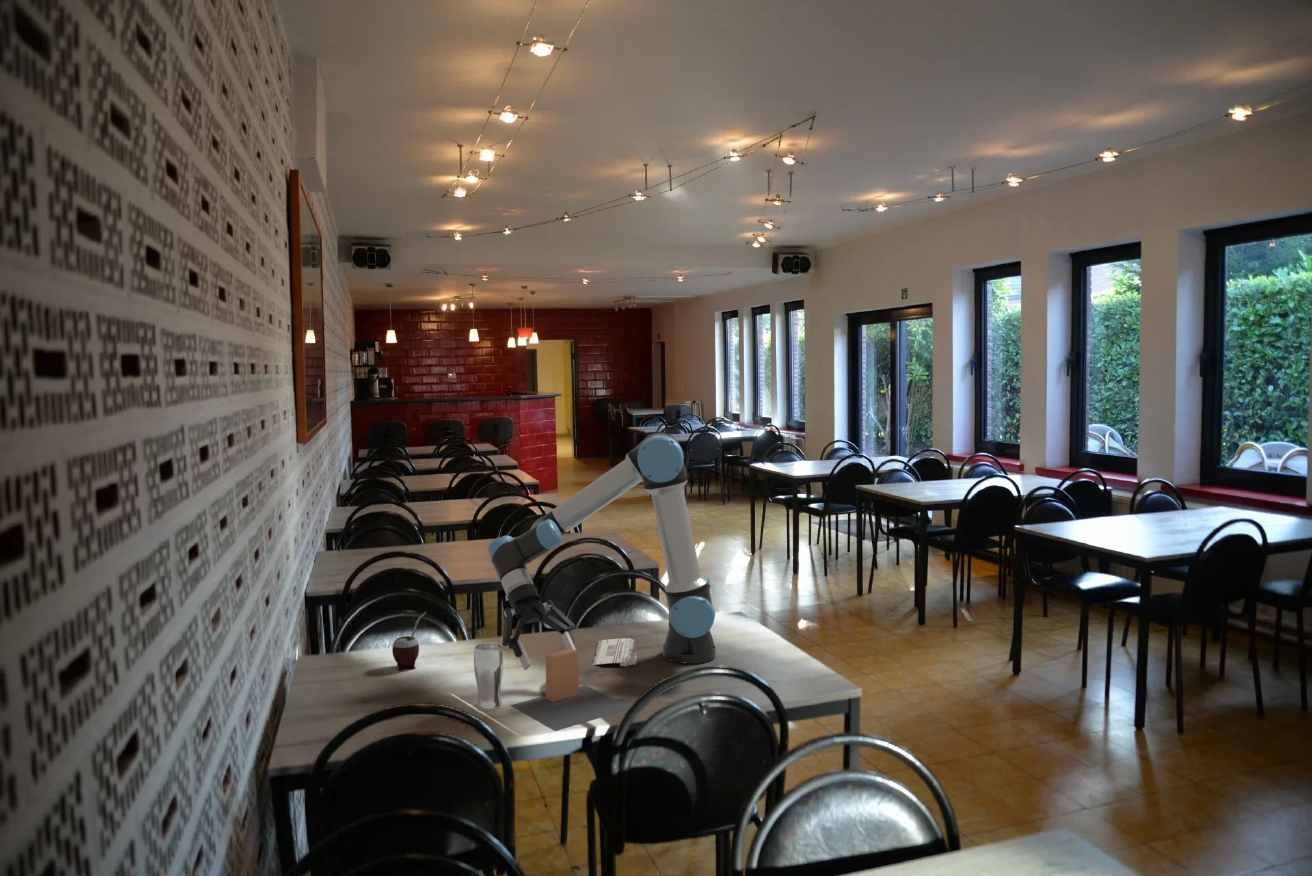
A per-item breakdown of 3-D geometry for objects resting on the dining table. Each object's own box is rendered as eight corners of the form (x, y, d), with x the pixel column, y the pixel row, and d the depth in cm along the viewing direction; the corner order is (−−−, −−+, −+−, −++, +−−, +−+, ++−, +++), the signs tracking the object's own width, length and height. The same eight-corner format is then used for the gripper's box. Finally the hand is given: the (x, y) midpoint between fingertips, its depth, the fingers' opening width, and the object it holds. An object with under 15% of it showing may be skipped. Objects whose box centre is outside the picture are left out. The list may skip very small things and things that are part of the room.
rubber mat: (585, 686, 233) (585, 685, 233) (633, 709, 218) (633, 707, 218) (510, 706, 219) (510, 705, 219) (555, 732, 204) (555, 731, 204)
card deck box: (571, 691, 229) (571, 648, 228) (578, 694, 226) (578, 651, 225) (546, 698, 224) (545, 654, 223) (552, 701, 222) (552, 657, 221)
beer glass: (505, 701, 223) (504, 641, 222) (501, 712, 216) (501, 650, 215) (477, 702, 222) (476, 642, 221) (472, 712, 216) (471, 650, 214)
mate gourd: (387, 669, 246) (385, 615, 245) (407, 661, 253) (406, 608, 252) (408, 673, 243) (406, 618, 242) (428, 665, 250) (427, 611, 249)
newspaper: (636, 669, 248) (635, 660, 248) (592, 673, 249) (591, 664, 248) (640, 644, 271) (639, 635, 270) (599, 647, 271) (598, 639, 271)
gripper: (555, 591, 247) (586, 659, 237) (472, 606, 232) (501, 679, 221) (566, 575, 243) (598, 644, 232) (482, 589, 227) (512, 664, 217)
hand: (551, 661), depth 227 cm, fingers open, 13 cm apart
